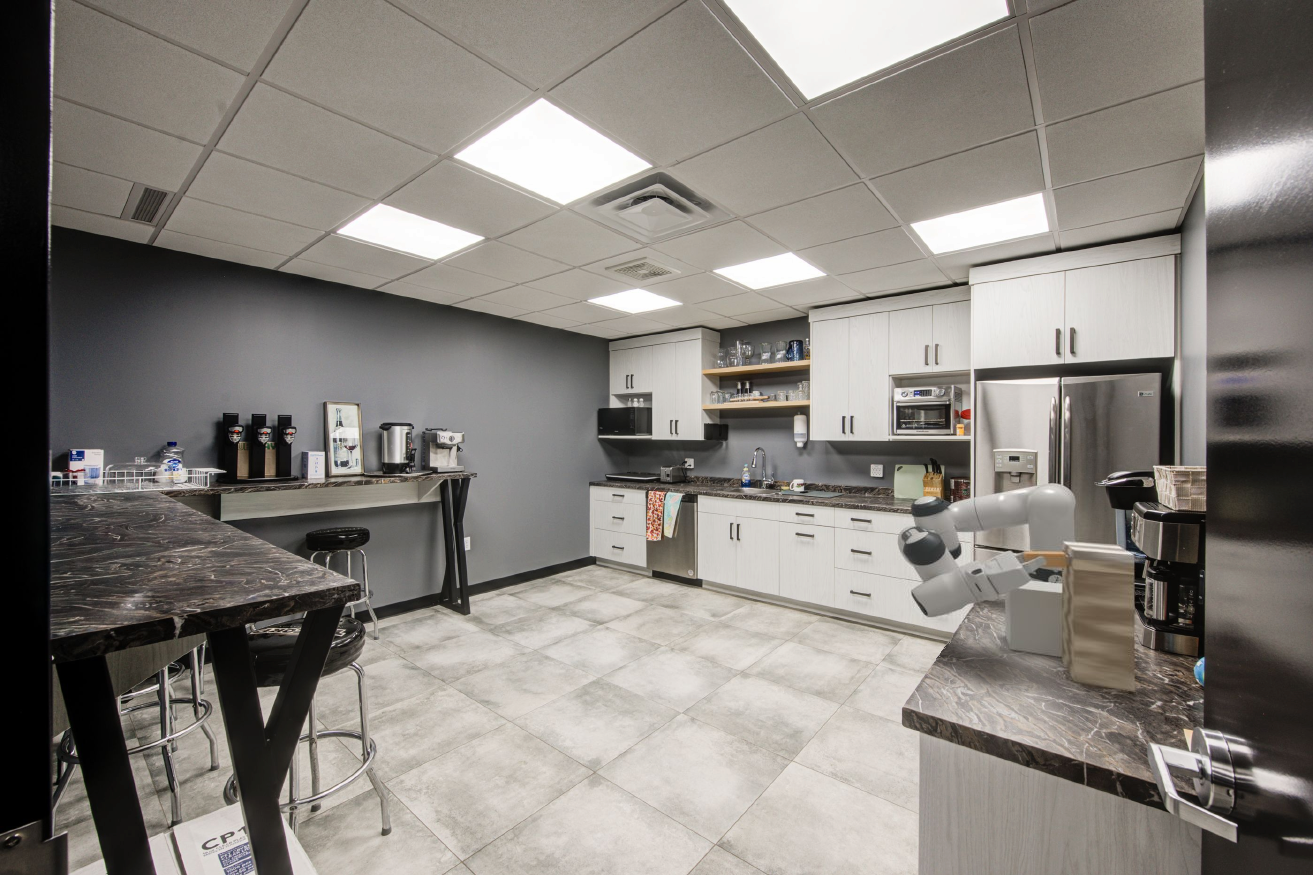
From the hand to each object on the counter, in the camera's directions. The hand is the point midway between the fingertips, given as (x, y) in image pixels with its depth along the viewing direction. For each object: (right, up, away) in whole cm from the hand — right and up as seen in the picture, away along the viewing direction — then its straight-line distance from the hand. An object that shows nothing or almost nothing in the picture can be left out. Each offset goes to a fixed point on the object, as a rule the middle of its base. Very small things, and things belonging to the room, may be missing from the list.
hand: (1041, 555), depth 123 cm
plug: (+3, -2, -2) cm, 4 cm away
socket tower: (+9, -26, -5) cm, 28 cm away
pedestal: (+8, -26, +12) cm, 29 cm away
